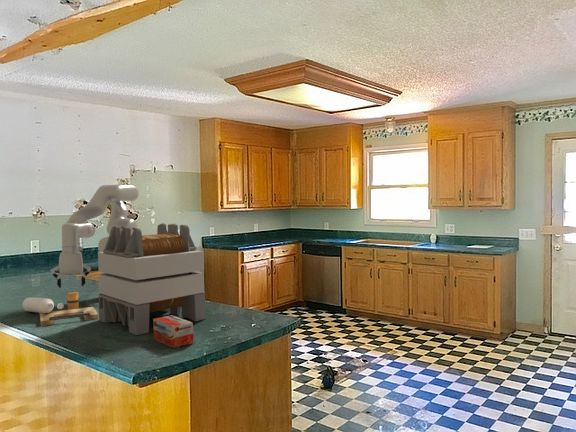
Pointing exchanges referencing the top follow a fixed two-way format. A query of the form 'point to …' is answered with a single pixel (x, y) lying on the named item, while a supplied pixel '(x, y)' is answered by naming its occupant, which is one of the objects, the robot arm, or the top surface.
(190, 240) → the transformer
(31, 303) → the water bottle
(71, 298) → the banded orange cylinder
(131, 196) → the robot arm
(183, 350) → the top surface
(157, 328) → the medicine box
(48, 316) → the oak frame
